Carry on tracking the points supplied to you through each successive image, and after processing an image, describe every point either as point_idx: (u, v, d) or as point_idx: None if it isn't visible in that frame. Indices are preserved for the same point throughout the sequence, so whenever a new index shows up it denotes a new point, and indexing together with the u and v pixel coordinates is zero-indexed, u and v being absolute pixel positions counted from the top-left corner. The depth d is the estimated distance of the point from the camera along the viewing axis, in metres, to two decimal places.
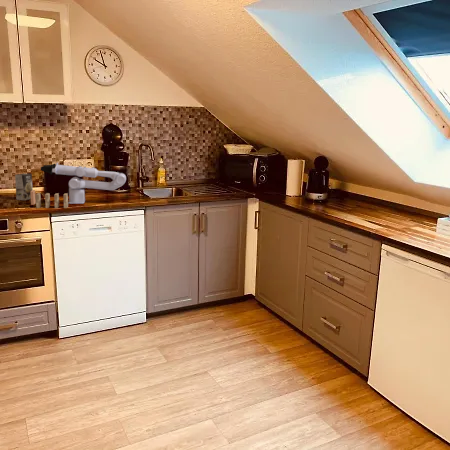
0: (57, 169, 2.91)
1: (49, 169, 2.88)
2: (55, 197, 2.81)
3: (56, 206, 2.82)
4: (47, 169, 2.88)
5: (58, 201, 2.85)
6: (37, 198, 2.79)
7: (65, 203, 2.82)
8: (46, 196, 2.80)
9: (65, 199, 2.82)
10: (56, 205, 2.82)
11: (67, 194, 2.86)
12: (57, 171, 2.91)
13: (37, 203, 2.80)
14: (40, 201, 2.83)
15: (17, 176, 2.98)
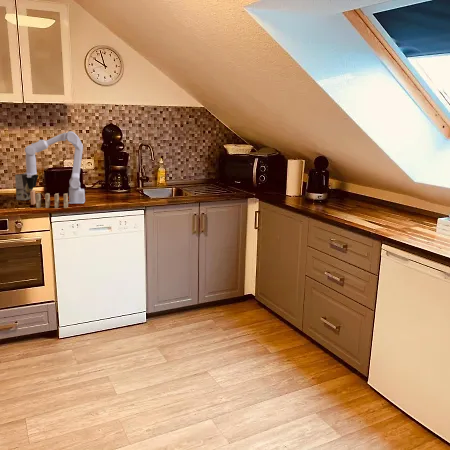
0: (29, 172, 2.84)
1: (30, 180, 2.84)
2: (55, 197, 2.81)
3: (56, 206, 2.82)
4: (30, 182, 2.84)
5: (58, 201, 2.85)
6: (37, 198, 2.79)
7: (65, 203, 2.82)
8: (46, 196, 2.80)
9: (65, 199, 2.82)
10: (56, 205, 2.82)
11: (67, 194, 2.86)
12: (32, 172, 2.85)
13: (37, 203, 2.80)
14: (40, 201, 2.83)
15: (17, 176, 2.98)
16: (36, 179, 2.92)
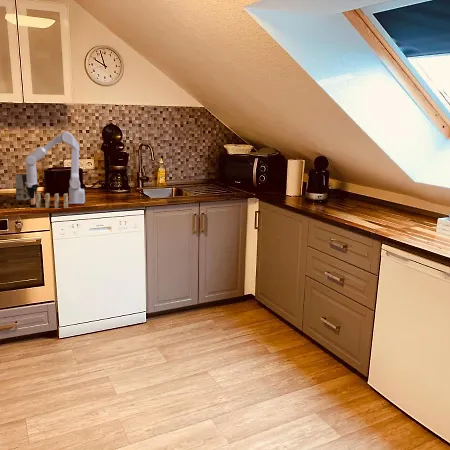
0: (30, 182, 2.86)
1: (31, 189, 2.86)
2: (55, 197, 2.81)
3: (56, 206, 2.82)
4: (31, 191, 2.86)
5: (58, 201, 2.85)
6: (37, 198, 2.79)
7: (65, 203, 2.82)
8: (46, 196, 2.80)
9: (65, 199, 2.82)
10: (56, 205, 2.82)
11: (67, 194, 2.86)
12: (32, 182, 2.86)
13: (37, 203, 2.80)
14: (40, 201, 2.84)
15: (17, 176, 2.98)
16: (36, 189, 2.92)
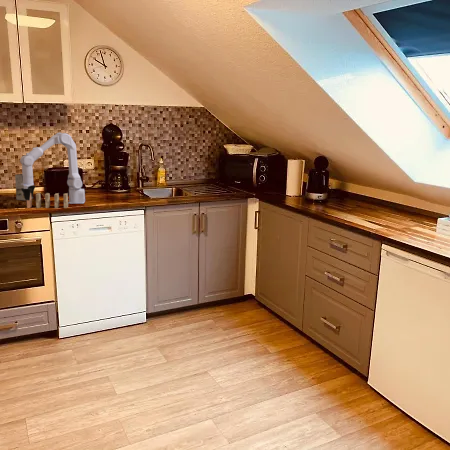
0: (26, 183, 2.76)
1: (26, 191, 2.75)
2: (55, 197, 2.81)
3: (56, 206, 2.82)
4: (27, 193, 2.76)
5: (58, 201, 2.85)
6: (37, 198, 2.79)
7: (65, 203, 2.82)
8: (46, 196, 2.80)
9: (65, 199, 2.82)
10: (56, 205, 2.82)
11: (67, 194, 2.86)
12: (28, 183, 2.76)
13: (37, 203, 2.80)
14: (40, 201, 2.83)
15: (17, 176, 2.98)
16: (33, 190, 2.84)
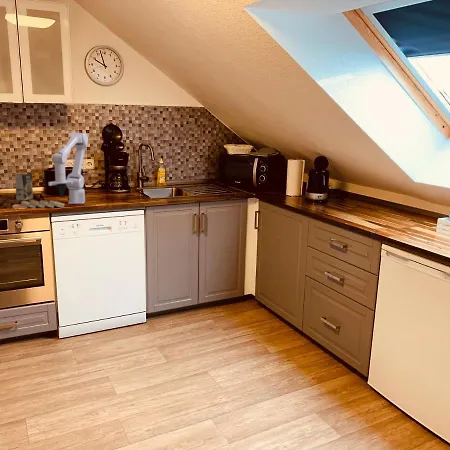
0: (55, 181, 2.79)
1: None
2: (42, 203, 2.80)
3: (52, 206, 2.81)
4: (59, 190, 2.82)
5: None
6: (25, 204, 2.79)
7: (58, 205, 2.82)
8: (32, 203, 2.79)
9: (54, 203, 2.81)
10: (51, 205, 2.81)
11: (52, 200, 2.85)
12: (57, 181, 2.79)
13: (30, 205, 2.79)
14: None
15: (17, 176, 2.98)
16: (62, 189, 2.81)
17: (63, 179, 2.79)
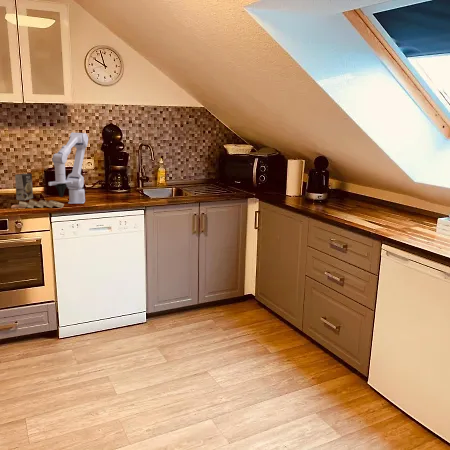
0: (55, 181, 2.79)
1: None
2: (41, 203, 2.80)
3: (50, 205, 2.82)
4: (59, 190, 2.82)
5: (48, 202, 2.84)
6: (23, 205, 2.77)
7: (57, 205, 2.82)
8: (30, 203, 2.79)
9: (53, 203, 2.81)
10: (49, 205, 2.81)
11: (51, 200, 2.85)
12: (57, 181, 2.79)
13: (28, 206, 2.78)
14: (28, 203, 2.81)
15: (17, 176, 2.98)
16: (62, 189, 2.81)
17: (63, 179, 2.79)
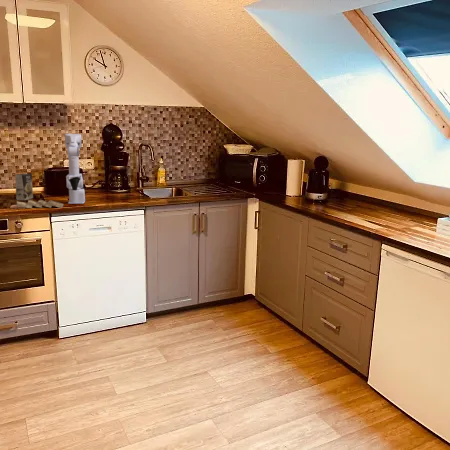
0: (71, 174, 2.79)
1: (73, 181, 2.82)
2: (40, 203, 2.80)
3: (49, 205, 2.81)
4: (73, 183, 2.82)
5: (47, 202, 2.84)
6: (21, 205, 2.76)
7: (57, 205, 2.82)
8: (29, 203, 2.78)
9: (52, 203, 2.81)
10: (48, 205, 2.81)
11: (51, 200, 2.85)
12: (73, 174, 2.79)
13: (27, 206, 2.77)
14: (25, 203, 2.80)
15: (17, 176, 2.98)
16: (77, 182, 2.82)
17: (78, 172, 2.81)
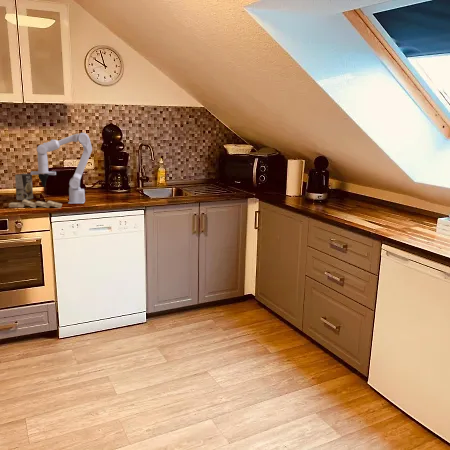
0: None
1: None
2: (38, 204, 2.80)
3: (47, 206, 2.81)
4: None
5: (45, 203, 2.84)
6: (13, 205, 2.77)
7: (55, 205, 2.81)
8: (23, 202, 2.79)
9: (51, 204, 2.81)
10: (46, 205, 2.81)
11: None
12: (38, 171, 2.89)
13: (18, 205, 2.78)
14: None
15: (17, 176, 2.98)
16: (43, 179, 2.90)
17: (42, 169, 2.87)
